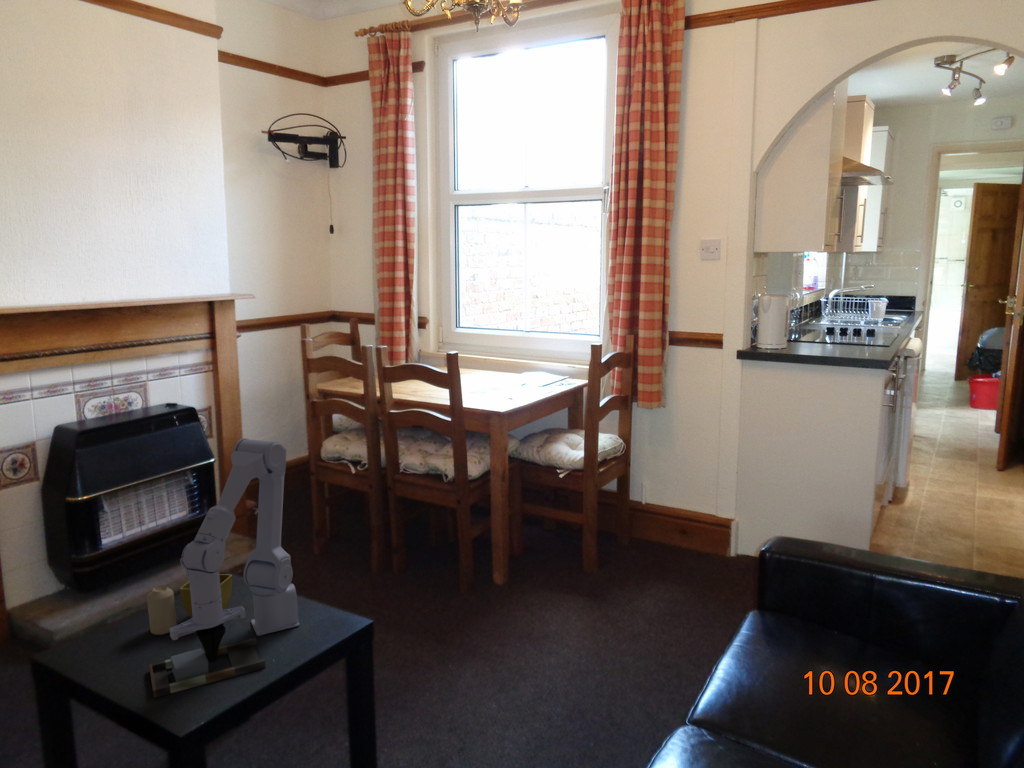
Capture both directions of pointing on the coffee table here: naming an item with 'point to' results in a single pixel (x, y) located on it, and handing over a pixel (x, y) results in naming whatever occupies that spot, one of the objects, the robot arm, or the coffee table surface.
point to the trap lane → (241, 662)
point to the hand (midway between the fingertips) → (211, 659)
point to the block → (189, 665)
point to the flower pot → (225, 593)
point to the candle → (161, 610)
